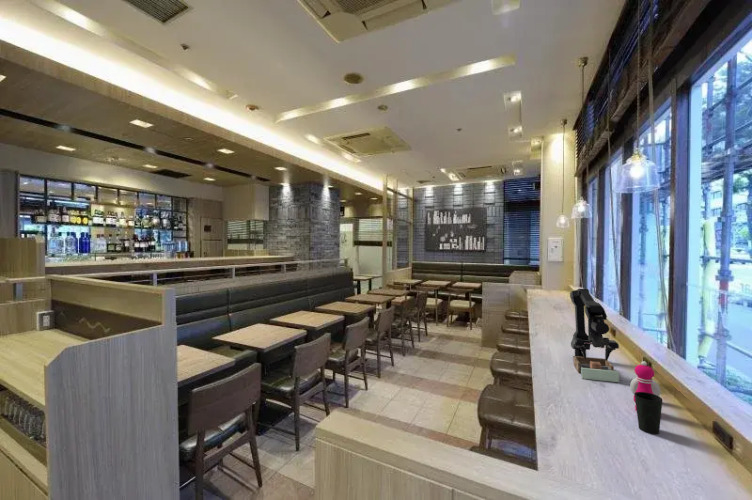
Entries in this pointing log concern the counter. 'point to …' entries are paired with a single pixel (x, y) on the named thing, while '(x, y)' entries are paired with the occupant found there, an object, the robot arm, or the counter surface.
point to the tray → (599, 373)
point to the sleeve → (586, 361)
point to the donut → (654, 387)
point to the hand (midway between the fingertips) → (595, 359)
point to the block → (595, 365)
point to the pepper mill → (644, 378)
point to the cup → (648, 412)
